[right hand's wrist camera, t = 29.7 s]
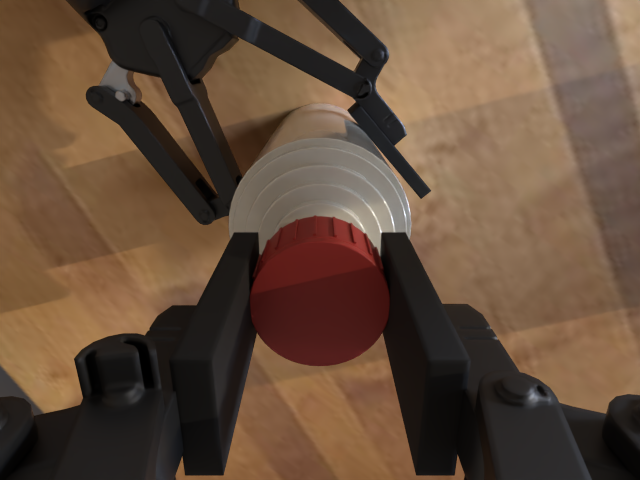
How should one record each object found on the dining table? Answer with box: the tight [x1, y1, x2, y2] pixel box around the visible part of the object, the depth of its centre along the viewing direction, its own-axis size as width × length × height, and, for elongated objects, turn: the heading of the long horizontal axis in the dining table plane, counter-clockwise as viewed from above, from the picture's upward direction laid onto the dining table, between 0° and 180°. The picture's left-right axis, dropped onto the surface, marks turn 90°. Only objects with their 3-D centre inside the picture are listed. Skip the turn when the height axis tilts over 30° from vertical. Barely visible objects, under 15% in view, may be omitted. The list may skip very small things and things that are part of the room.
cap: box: [250, 215, 390, 366], centre depth 13 cm, size 4×4×2 cm
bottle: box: [229, 103, 411, 255], centre depth 23 cm, size 7×7×22 cm
